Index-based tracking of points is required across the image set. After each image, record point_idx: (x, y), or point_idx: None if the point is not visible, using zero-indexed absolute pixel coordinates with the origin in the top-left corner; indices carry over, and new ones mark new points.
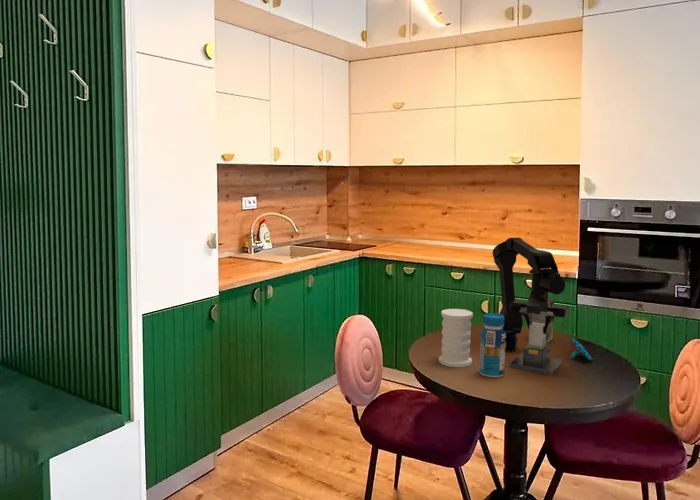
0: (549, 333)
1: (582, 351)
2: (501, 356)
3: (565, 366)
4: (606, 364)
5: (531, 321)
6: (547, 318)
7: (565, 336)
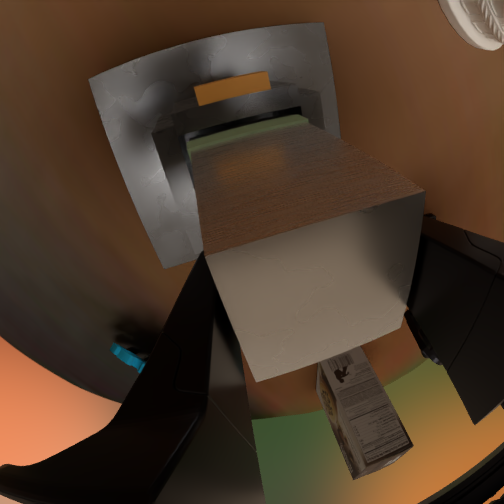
0: (324, 395)
1: (121, 353)
2: None
3: (132, 242)
4: (82, 353)
5: (424, 306)
6: (127, 452)
7: (297, 412)
